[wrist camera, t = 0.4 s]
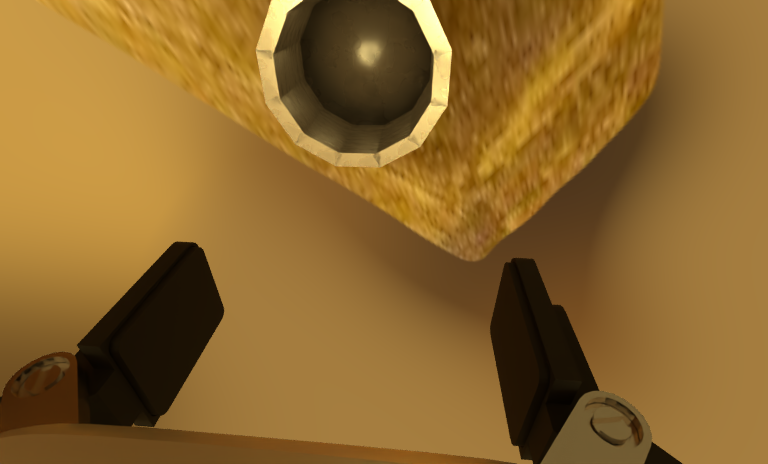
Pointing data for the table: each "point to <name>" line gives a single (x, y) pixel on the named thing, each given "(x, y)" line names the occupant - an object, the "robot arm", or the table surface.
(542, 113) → the table surface
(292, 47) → the pot
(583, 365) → the robot arm
